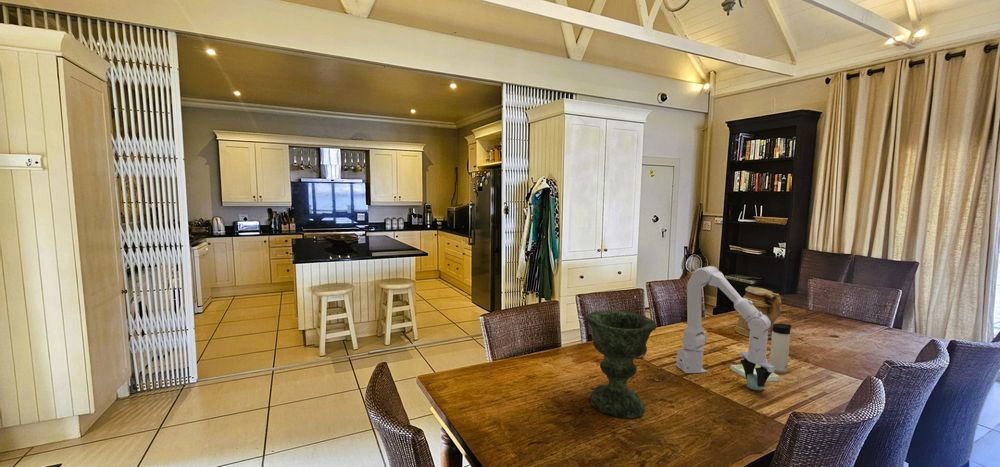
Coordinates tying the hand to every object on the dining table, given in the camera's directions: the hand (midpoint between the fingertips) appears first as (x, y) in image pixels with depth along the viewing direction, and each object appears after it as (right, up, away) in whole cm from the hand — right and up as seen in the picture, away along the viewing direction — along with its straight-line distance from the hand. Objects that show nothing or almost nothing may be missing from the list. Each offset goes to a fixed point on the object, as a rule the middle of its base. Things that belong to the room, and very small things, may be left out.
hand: (754, 382), depth 152 cm
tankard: (+42, +1, +64) cm, 77 cm away
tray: (+8, -2, +13) cm, 16 cm away
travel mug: (+22, -2, +18) cm, 28 cm away
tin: (-38, 0, +30) cm, 48 cm away
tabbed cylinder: (0, -2, 0) cm, 2 cm away
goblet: (-56, -3, -13) cm, 57 cm away
